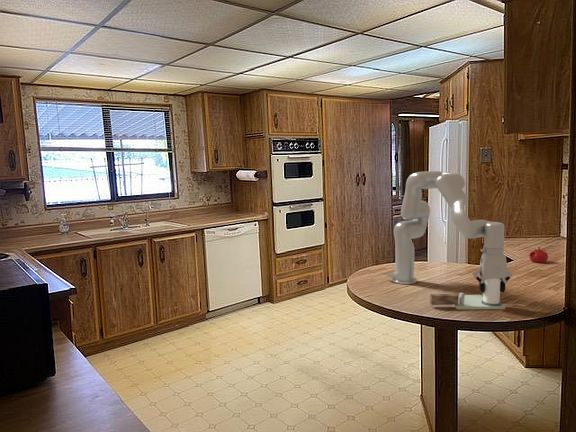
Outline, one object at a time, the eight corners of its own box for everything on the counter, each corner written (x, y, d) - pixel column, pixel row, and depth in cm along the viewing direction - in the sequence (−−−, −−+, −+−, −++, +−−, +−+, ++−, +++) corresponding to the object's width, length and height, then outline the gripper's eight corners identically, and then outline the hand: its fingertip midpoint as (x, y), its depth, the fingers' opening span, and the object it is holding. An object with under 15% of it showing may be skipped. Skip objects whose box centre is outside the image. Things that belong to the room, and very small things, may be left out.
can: (480, 300, 191) (480, 273, 189) (494, 299, 191) (495, 272, 189) (487, 305, 184) (488, 277, 183) (502, 304, 185) (503, 276, 183)
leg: (456, 302, 188) (456, 293, 188) (458, 304, 186) (458, 295, 185) (430, 303, 189) (430, 294, 188) (431, 304, 186) (432, 295, 186)
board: (456, 309, 184) (457, 292, 183) (444, 297, 200) (445, 282, 199) (505, 309, 183) (505, 292, 183) (489, 297, 199) (489, 281, 198)
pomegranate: (548, 261, 265) (549, 246, 264) (547, 264, 257) (548, 249, 256) (529, 259, 270) (530, 244, 269) (528, 262, 262) (529, 247, 261)
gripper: (476, 253, 181) (474, 294, 183) (518, 252, 181) (516, 294, 183) (469, 249, 189) (468, 289, 191) (510, 249, 188) (508, 288, 190)
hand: (491, 291), depth 187 cm, fingers open, 7 cm apart
